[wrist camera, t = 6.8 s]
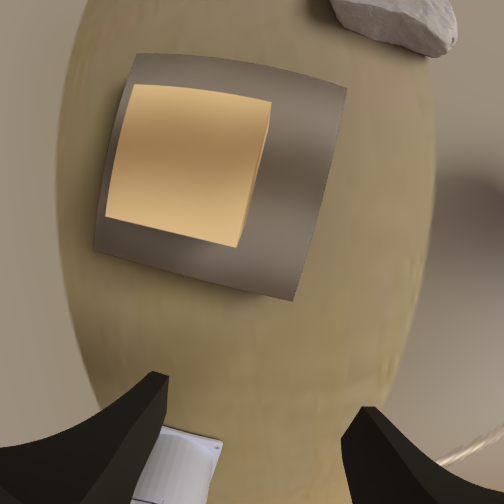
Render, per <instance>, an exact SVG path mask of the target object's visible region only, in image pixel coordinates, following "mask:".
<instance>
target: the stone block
mask: <svg viewBox="0 0 504 504" xmlns="http://www.w3.org/2000/svg"><path fill="white" fill-rule="evenodd" d="M329 1H330V3H331V5H332V7H333V10H334V12H335V14H336V18H337V19H338V20H339V22H340V23H341V25H342V26H343V27H345V28H347V29H349V30H352V31H355V32H357V33H360V34H362V35H364V36H366V37H368V38H371V39H373V40H377V41H383V42H387V43H390V44H398V45H401V46H403V47H406V48H407V49H409V50H412V51H414V52H417V53H421V54H424V55H426V56H428V57H431V58H438V57H440V56H441V55H445V54H447V53H448V52H449V51H450V49H451V48H453V47H454V44H455V42H456V40H457V39H458V36H457V34H458V33H457V22H456V18H455V15H454V13H453V9H452V7H451V5H450V3H449V1H448V0H329Z"/></svg>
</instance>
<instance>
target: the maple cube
mask: <svg viewBox="0 0 504 504" xmlns="http://www.w3.org/2000/svg"><path fill="white" fill-rule="evenodd" d="M271 103H272V102H269V101H264V100H260V99H255V98H250V97H245V96H239V95H234V94H228V93H222V92H215V91H208V90H200V89H192V88H183V87H172V86H159V85H140V84H134V87H133V90H132V93H131V97H130V100H129V103H128V107H127V110H126V114H125V118H124V121H123V125H122V129H121V133H120V137H119V141H118V146H117V150H116V155H115V160H114V165H113V170H112V175H111V181H110V187H109V193H108V200H107V207H106V214H105V216H106V217H110V218H114V219H118V220H122V221H127V222H131V223H135V224H139V225H143V226H147V227H152V228H156V229H160V230H164V231H168V232H173V233H177V234H181V235H185V236H189V237H193V238H198V239H202V240H206V241H210V242H214V243H218V244H223V245H227V246H231V247H235V248H236V247H237V244H238V242H239V239H240V237H241V234H242V232H243V229H244V227H245V223H246V219H247V215H248V211H249V206H250V202H251V198H252V194H253V190H254V186H255V182H256V177H257V173H258V169H259V165H260V161H261V157H262V153H263V149H264V145H265V141H266V137H267V133H268V128H269V120H270V112H271Z"/></svg>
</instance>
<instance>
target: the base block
mask: <svg viewBox="0 0 504 504" xmlns="http://www.w3.org/2000/svg"><path fill="white" fill-rule="evenodd" d="M134 84H140V85H159V86H172V87H183V88H192V89H200V90H208V91H215V92H222V93H228V94H234V95H239V96H245V97H250V98H255V99H260V100H264V101H269V102H272V103H271V112H270V120H269V128H268V133H267V137H266V141H265V145H264V149H263V153H262V157H261V161H260V165H259V169H258V173H257V177H256V182H255V186H254V190H253V194H252V198H251V202H250V206H249V211H248V215H247V219H246V223H245V227H244V229H243V232H242V234H241V237H240V239H239V242H238V244H237V247H236V248H235V247H231V246H227V245H223V244H218V243H214V242H210V241H206V240H202V239H198V238H193V237H189V236H185V235H181V234H177V233H173V232H168V231H164V230H160V229H156V228H152V227H147V226H143V225H139V224H135V223H131V222H127V221H122V220H118V219H114V218H110V217H106V216H105V214H106V207H107V200H108V193H109V187H110V181H111V175H112V170H113V165H114V160H115V155H116V150H117V146H118V141H119V137H120V133H121V129H122V125H123V121H124V118H125V114H126V110H127V107H128V103H129V100H130V97H131V93H132V90H133V87H134ZM346 93H347V88H345V87H342V86H339V85H336V84H333V83H330V82H327V81H324V80H320V79H317V78H314V77H310V76H306V75H303V74H299V73H295V72H291V71H287V70H283V69H279V68H274V67H270V66H265V65H260V64H254V63H249V62H243V61H237V60H230V59H223V58H215V57H206V56H195V55H181V54H151V53H143V54H136V57H135V60H134V62H133V65H132V68H131V70H130V73H129V76H128V79H127V82H126V85H125V88H124V91H123V94H122V98H121V101H120V104H119V108H118V111H117V115H116V119H115V122H114V126H113V130H112V134H111V138H110V143H109V147H108V152H107V156H106V161H105V166H104V172H103V177H102V183H101V189H100V196H99V203H98V210H97V219H96V228H95V238H94V250H96V251H99V252H102V253H106V254H109V255H112V256H116V257H119V258H123V259H126V260H130V261H133V262H137V263H140V264H144V265H147V266H151V267H155V268H158V269H162V270H166V271H169V272H173V273H177V274H180V275H184V276H188V277H192V278H196V279H200V280H204V281H208V282H212V283H216V284H220V285H224V286H228V287H232V288H236V289H240V290H244V291H248V292H253V293H257V294H261V295H266V296H270V297H274V298H279V299H283V300H288V301H292V302H293V298H294V295H295V292H296V289H297V286H298V282H299V279H300V276H301V273H302V269H303V266H304V263H305V259H306V256H307V252H308V249H309V246H310V242H311V238H312V235H313V231H314V228H315V224H316V220H317V217H318V213H319V209H320V206H321V202H322V198H323V194H324V190H325V186H326V182H327V178H328V174H329V170H330V166H331V162H332V158H333V153H334V149H335V145H336V140H337V136H338V131H339V127H340V122H341V118H342V113H343V108H344V103H345V98H346Z"/></svg>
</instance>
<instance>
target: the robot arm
mask: <svg viewBox="0 0 504 504" xmlns="http://www.w3.org/2000/svg"><path fill="white" fill-rule="evenodd" d="M168 382H169V376H168V375H164V374H161V373H158V372H154V371H152V372H149V373H148V374H147V375H146V376H145V377H144V378H143V379H142V380H141V381H140V382H139V383H137V384H136V385H135V386H134V387H133V388H132V389H130V390H129V391H128V392H127V393H125V394H124V395H123V396H121V397H120V398H119V399H117V400H116V401H115V402H114V403H112V404H111V405H109V406H108V407H106V408H105V409H103V410H102V411H100V412H99V413H97V414H95V415H94V416H92V417H91V418H89V419H87V420H85V421H84V422H82V423H80V424H78V425H76V426H74V427H72V428H70V429H67V430H65V431H62V432H60V433H58V434H55V435H53V436H50V437H47V438H44V439H41V440H37V441H34V442H30V443H25V444H21V445H16V446H10V447H3V448H0V504H206V502H207V496H208V490H209V484H210V481H211V478H212V475H213V472H214V470H215V467H216V464H217V461H218V458H219V455H220V452H221V449H222V446H223V442H222V441H220V440H216V439H211V438H207V437H202V436H198V435H194V434H190V433H186V432H183V431H179V430H176V429H172V428H169V427H165V426H162V425H163V422H164V419H165V415H166V410H167V395H168ZM341 450H342V460H343V465H344V469H345V473H346V477H347V482H348V486H349V490H350V494H351V499H352V503H353V504H504V493H503V492H499V491H495V490H491V489H487V488H484V487H481V486H478V485H475V484H472V483H470V482H468V481H466V480H464V479H462V478H460V477H458V476H456V475H454V474H452V473H450V472H449V471H447V470H446V469H444V468H443V467H441V466H440V465H438V464H437V463H435V462H434V461H433V460H431V459H430V458H429V457H427V456H426V455H425V454H424V453H423V452H421V451H420V450H419V449H418V448H417V447H416V446H415V445H414V444H413V443H412V442H410V441H409V440H408V439H407V438H406V437H405V436H404V435H403V434H402V433H401V432H400V431H399V430H398V429H397V428H396V427H395V426H394V425H393V424H392V423H391V422H390V421H389V420H388V419H387V418H386V417H385V416H384V415H383V414H382V413H381V412H380V411H379V410H378V409H377V408H376V407H363V406H362V407H361V409H360V410H359V412H358V413H357V415H356V417H355V418H354V420H353V421H352V423H351V424H350V426H349V427H348V429H347V430H346V432H345V433H344V435H343V436H342V438H341Z"/></svg>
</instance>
